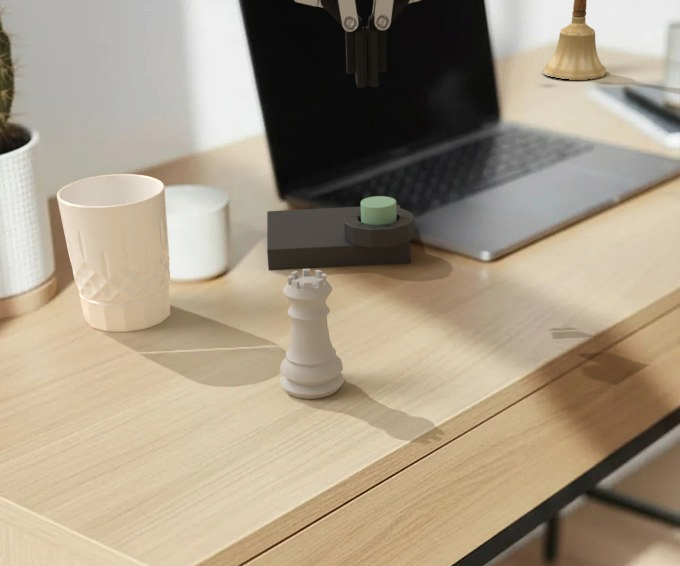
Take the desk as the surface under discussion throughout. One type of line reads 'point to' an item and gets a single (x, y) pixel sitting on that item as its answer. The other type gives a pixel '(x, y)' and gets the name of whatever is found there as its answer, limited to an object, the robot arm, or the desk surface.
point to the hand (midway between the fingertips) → (366, 82)
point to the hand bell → (576, 50)
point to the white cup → (118, 249)
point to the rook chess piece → (310, 339)
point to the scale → (336, 239)
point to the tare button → (378, 210)
